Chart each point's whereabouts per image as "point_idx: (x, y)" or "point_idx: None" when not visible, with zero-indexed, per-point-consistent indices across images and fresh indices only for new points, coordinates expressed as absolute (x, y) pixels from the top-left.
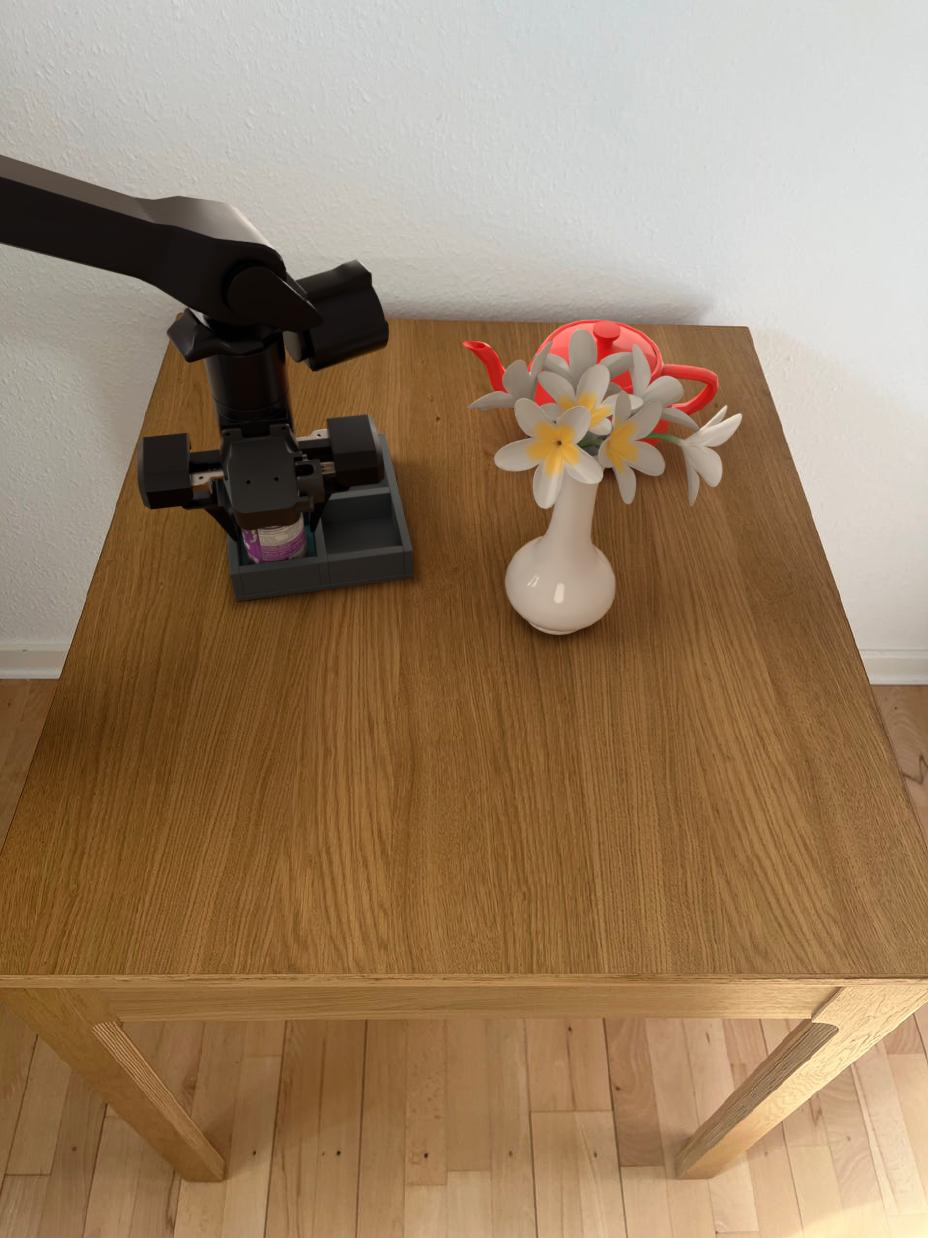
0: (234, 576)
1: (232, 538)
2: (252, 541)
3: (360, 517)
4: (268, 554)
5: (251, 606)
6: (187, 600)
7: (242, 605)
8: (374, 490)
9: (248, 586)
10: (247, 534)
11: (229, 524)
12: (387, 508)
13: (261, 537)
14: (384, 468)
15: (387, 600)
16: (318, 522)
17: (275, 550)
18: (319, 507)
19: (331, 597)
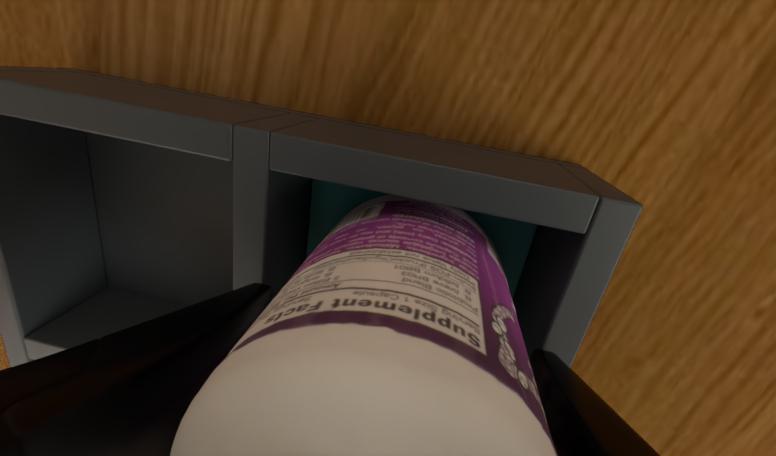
0: (621, 195)
1: (567, 365)
2: (507, 313)
3: (174, 308)
4: (450, 241)
5: (545, 130)
6: (722, 226)
7: (570, 144)
8: None
9: (552, 169)
10: (525, 353)
11: (611, 443)
12: (90, 303)
13: (470, 305)
14: None
15: (146, 4)
16: (204, 300)
17: (418, 240)
18: (97, 355)
19: (303, 78)
